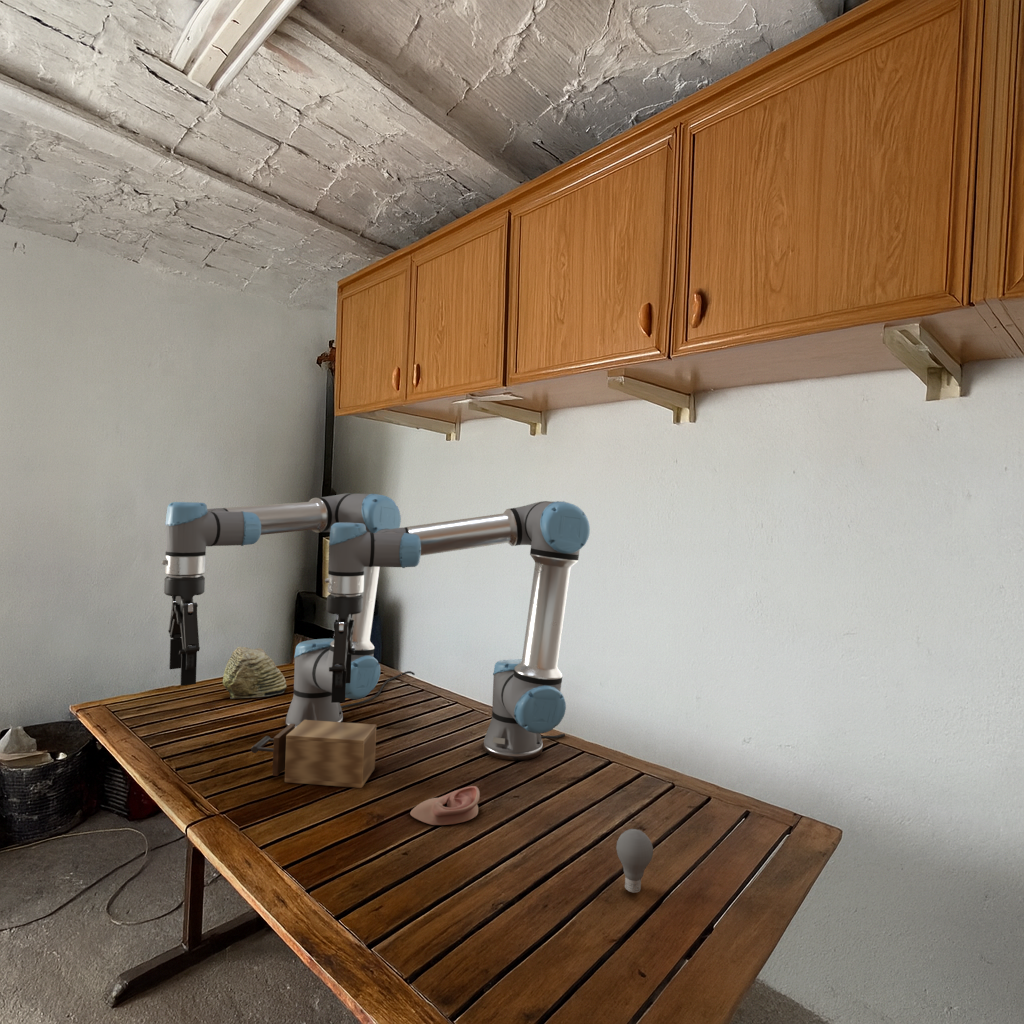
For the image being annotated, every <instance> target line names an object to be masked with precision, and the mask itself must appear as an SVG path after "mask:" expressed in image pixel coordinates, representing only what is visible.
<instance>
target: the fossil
mask: <svg viewBox="0 0 1024 1024" xmlns="http://www.w3.org/2000/svg"><path fill="white" fill-rule="evenodd" d="M222 676H223V677H222V685H223V687H224V688H225V690H226V691H228V693H229V698H230V699H250V698H264V697H271V696H275V695H281V694H284V693H285V691H286V689H287V687H288V686H287V680H286V678H285V676H284V674H283V673H282V672H281V669H279V668H278V667H277V665H276V663H275V662H274V660H273V659H272V658H271V657H270V656H269V655H268V654H267V653H266V652H265V650H264V649H263V648H260V647H258V648H251V647H247V646H246V647H245V646H238V647H237V648H236V649H235V650H233V651H232V653H231V656H230V657H229V659H228V660H227V663H226V666H225V668H224V671H223V675H222Z"/></svg>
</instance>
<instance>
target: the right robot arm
mask: <svg viewBox="0 0 1024 1024" xmlns="http://www.w3.org/2000/svg"><path fill="white" fill-rule="evenodd" d="M590 525H591V524H590V521H589V519H588V516H587V515H586V513H585V512H584V511H583V509H581V508H580V507H579V506H578V505H576V504H574V503H571V502H567V501H564V500H561V501H560V500H555V501H548V500H544V501H543V500H542V501H537V502H534V503H529V504H526V505H522V506H518V507H512V508H506V509H505V510H504V512H503V513H496V514H489V515H483V516H476V517H468V518H460V519H453V520H447V521H438V522H432V523H431V522H430V523H425V524H418V525H410V526H405V527H400V528H395V529H387V528H386V529H380V530H378V531H377V532H375V533H370V532H367V530H366V526H365V524H363V523H347V522H339V523H334V524H333V525H332V526H331V528H330V532H329V540H328V563H327V564H328V568H327V573H328V575H327V578H324V583H326V584H327V593H329V594H328V595H327V596H326V612H327V613H328V614H331V615H337V619H335V620H334V622H333V639H334V651H333V663H332V667H329V672H333V673H332V698H331V703H340V704H341V703H346V698H345V694H346V683H350V682H351V658H352V654H349V653H355V648H352V647H353V645H352V635H353V628H354V620H352V615H353V614H358V613H360V612H362V610H363V596H362V595H361V593H363V591H364V567H380V568H402V569H406V568H416V567H417V566H419V564H420V561H421V557H422V556H429V555H435V554H443V553H449V552H456V551H461V550H469V549H476V548H483V547H489V546H497V545H502V544H503V545H504V544H508V545H509V546H511V547H516V546H530V551H529V556H530V557H531V559H532V560H533V561H534V567H533V568H534V569H533V576H532V583H531V590H530V597H529V606H528V613H527V619H526V627H525V628H526V629H525V633H524V641H523V650H522V657H521V658H509V659H501V660H498V661H496V662H495V664H494V667H493V672H492V676H493V681H492V682H493V683H492V684H493V685H492V704H491V705H492V707H491V719H490V721H489V724H488V728H487V730H486V733H485V736H484V739H483V750H484V752H485V753H486V754H487V755H489V756H491V757H493V758H496V759H500V760H505V761H527V760H531V759H534V758H537V757H538V756H540V755H541V754H542V753H543V747H544V745H543V739H546V740H549V739H550V740H556V739H561V738H564V737H566V734H565V733H561V734H558V735H557V734H556V735H541V734H545V733H548V732H550V731H553V729H555V728H556V727H558V725H559V724H560V723H561V722H562V721H563V719H564V717H565V714H566V710H567V703H566V700H565V697H564V694H563V693H562V692H561V691H562V683H563V673H562V672H561V671H560V669H559V667H558V664H559V656H560V649H561V641H562V635H563V626H564V622H565V621H564V620H565V611H566V605H567V598H568V590H569V584H570V583H569V582H570V575H571V569H572V567H573V566H574V565H576V564H577V563H578V562H579V556H580V551H581V549H582V548H584V546H586V544H587V542H588V540H589V538H590V533H591V527H590ZM337 664H339V665H337Z"/></svg>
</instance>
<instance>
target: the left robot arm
mask: <svg viewBox="0 0 1024 1024" xmlns="http://www.w3.org/2000/svg"><path fill="white" fill-rule="evenodd" d="M401 517H402V516H401V511H400V509H399V506H397V504H396V502H395V501H394V500H393V499H392V498H391V497H389V496H387V495H383V494H378V493H355V492H346V493H340V494H336V495H335V494H333V495H328V496H321V497H313V498H311V499H309V500H308V501H303V502H301V501H300V502H288V503H287V502H286V503H273V504H260V505H258V504H257V505H244V506H230V507H216V508H208V506H207V504H206V503H205V502H198V501H197V502H195V501H194V502H193V501H173V502H170V503H169V504H168V505H167V509H166V515H165V523H164V524H165V559H163V560H162V561H161V565H164V574H166V575H167V576H165V578H164V583H163V584H164V588H163V593H164V594H165V595H166V596H168V597H171V608H170V616H169V617H170V618H169V626H168V629H167V632H168V634H169V638H170V639H169V664H168V665H169V670H178V669H180V687H183V686H191V685H192V686H193V685H196V684H197V661H198V660H197V659H198V652H200V650H201V649H200V648H201V647H200V638H199V637H200V635H199V622H198V606H199V605H198V603H197V602H194V596H200V595H203V594H204V593H205V588H206V587H205V585H206V584H205V583H206V577H205V576H204V574H205V573H206V563H207V562H206V560H207V554H206V551H207V547H223V546H224V547H227V546H228V547H229V546H231V547H232V546H241V547H244V546H247V545H253V544H256V543H257V542H258V541H259V539H260V538H261V536H263V535H265V536H266V535H273V534H283V533H293V532H303V531H312V532H314V533H317V534H318V533H330V528H331V526H332V525H333V524H334V523H339V522H347V523H363V524H365V526H366V530H367V532H370V533H375V532H377V531H378V530H380V529H386V528H387V529H395V528H401V522H402V518H401ZM380 568H381V567H364V591H363V593H361V595H362V596H363V610H362V612H360V613H358V614H353V615H352V620H354V628H353V635H352V645H353V647H352V648H355V653H349V654H352V658H351V682H350V683H346V694H345V699H350V700H360V699H363V698H366V697H367V696H368V695H370V693H371V692H372V691H373V690H374V689H375V688H376V686H377V684H379V683H378V682H379V680H380V677H381V665H380V663H379V661H378V659H377V658H375V657H374V654H375V646H374V644H373V642H371V635H372V628H373V622H374V621H373V620H374V614H375V613H374V612H375V605H376V600H377V599H376V598H377V592H378V591H377V590H378V583H379V575H380ZM333 651H334V638H317V639H308V640H304V641H300V642H299V643H298V644H297V645H296V646H295V650H294V655H293V657H294V672H293V673H294V674H293V695H292V696H293V697H292V699H291V702H290V704H289V708H288V710H287V712H286V714H285V726H286V727H287V726H288V725H289V724H295V727H297V726H298V725H299V724H300V723H301V722H302V721H304V720H316V721H331V722H344V714H343V709H345V708H349V707H354V706H358V705H362V704H364V703H368V702H370V701H372V700H374V699H376V698H377V697H379V695H380V694H381V692H382V690H383V689H384V687H385V685H386V684H388V683H389V682H390V681H393V680H395V679H398V678H400V677H402V676H404V675H406V674H411V675H413V676H415V675H416V674H415V672H414V671H411V670H407V671H404V672H402V673H399V674H398V675H395V676H392V677H390V678H388V679H386V680H385V681H384V682H383V683H382V684H381V687H380V688H379V690H378V691H377V693H376V694H374V695H373V696H371V697H369V698H366V699H364V700H361V701H357V702H353V703H348V704H344V705H341V703H331V698H332V673H333V672H329V667H332V663H333ZM337 665H339V664H337ZM401 674H402V675H401Z"/></svg>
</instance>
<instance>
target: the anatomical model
mask: <svg viewBox="0 0 1024 1024" xmlns="http://www.w3.org/2000/svg"><path fill="white" fill-rule="evenodd" d="M480 794H481V793H480V789H479V788H478V786H475V785H471V786H465V787H462V788H459V789H456V790H454V791H451V792H449V793H447V794H444V795H442V796H439V797H432V798H429V799H426V800H424V801H422V802H420V803H419V804H417V805H415V806H414V808H412V809H411V811H410V812H409V814H410V816H411V817H412V818H414V819H415V820H417V821H419V822H422V823H425V824H427V825H431V826H446V825H456V824H460V823H465V822H468V821H470V820H472V819H474V818H476V817H477V816H478V814H479V805H478V803H479V801H480V796H481V795H480Z"/></svg>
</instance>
